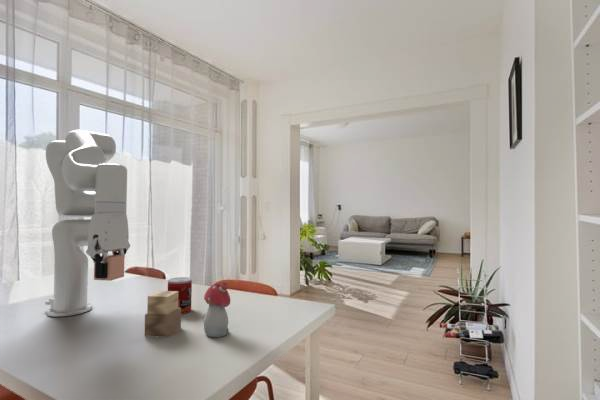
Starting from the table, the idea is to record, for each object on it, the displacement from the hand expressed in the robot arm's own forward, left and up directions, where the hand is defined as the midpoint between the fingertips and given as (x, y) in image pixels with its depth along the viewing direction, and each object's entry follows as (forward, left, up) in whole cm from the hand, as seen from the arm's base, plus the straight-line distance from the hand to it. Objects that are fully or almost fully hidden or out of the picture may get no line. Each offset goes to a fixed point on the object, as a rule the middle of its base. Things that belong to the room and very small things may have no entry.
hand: (109, 275), depth 86 cm
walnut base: (+12, +8, -17) cm, 22 cm away
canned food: (+7, +26, -18) cm, 32 cm away
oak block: (+11, +7, -11) cm, 18 cm away
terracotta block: (0, 0, -1) cm, 1 cm away
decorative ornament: (+28, +9, -18) cm, 34 cm away
